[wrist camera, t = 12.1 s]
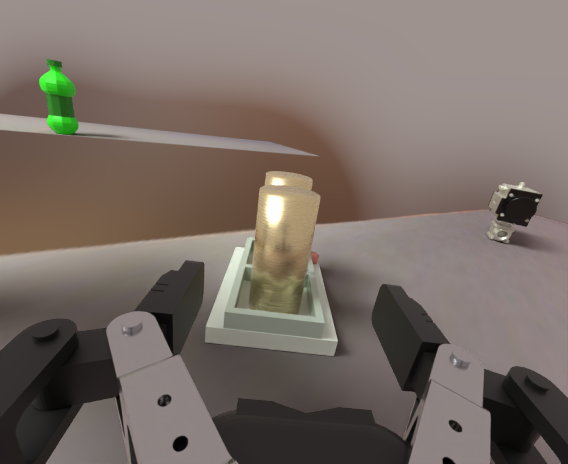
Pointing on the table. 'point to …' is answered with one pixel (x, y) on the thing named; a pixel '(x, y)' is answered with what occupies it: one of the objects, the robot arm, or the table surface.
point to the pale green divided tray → (271, 313)
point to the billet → (282, 247)
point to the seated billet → (288, 179)
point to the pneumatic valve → (511, 209)
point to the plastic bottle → (59, 99)
